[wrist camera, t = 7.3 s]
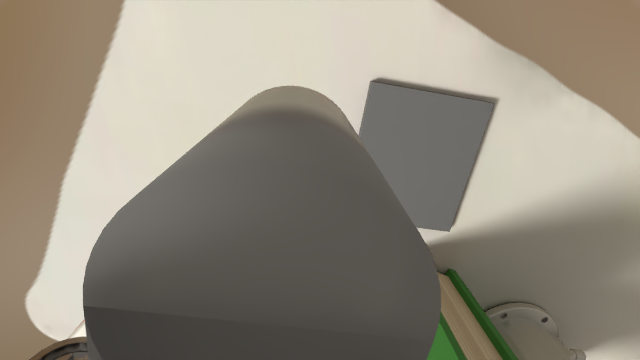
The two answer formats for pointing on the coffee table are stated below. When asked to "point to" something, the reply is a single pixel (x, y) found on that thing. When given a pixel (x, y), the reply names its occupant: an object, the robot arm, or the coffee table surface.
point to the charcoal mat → (424, 147)
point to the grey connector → (265, 250)
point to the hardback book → (465, 326)
